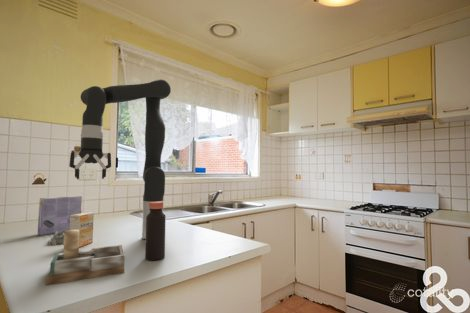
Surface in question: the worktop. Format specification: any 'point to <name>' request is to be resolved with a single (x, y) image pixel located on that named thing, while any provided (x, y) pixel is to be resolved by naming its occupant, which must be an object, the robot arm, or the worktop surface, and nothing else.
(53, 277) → the brown shallow boxy piece
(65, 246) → the keyhole peg
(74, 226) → the supplement box
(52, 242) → the egg carton
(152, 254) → the bottle
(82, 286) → the worktop surface
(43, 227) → the cake pan box
